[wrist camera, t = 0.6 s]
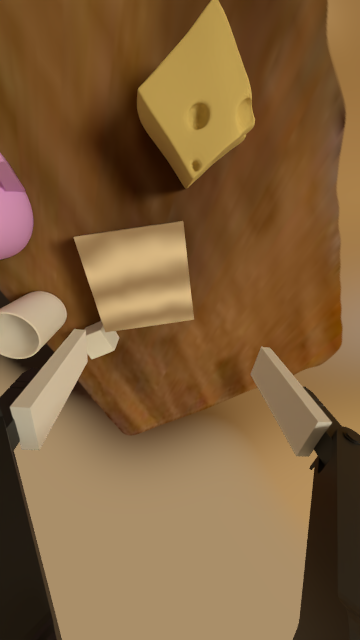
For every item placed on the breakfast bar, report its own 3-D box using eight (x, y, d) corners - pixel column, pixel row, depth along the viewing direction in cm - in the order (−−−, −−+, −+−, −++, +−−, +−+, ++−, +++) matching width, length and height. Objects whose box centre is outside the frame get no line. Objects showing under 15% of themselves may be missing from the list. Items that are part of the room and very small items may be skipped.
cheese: (239, 144, 31) (270, 113, 22) (183, 194, 33) (190, 185, 24) (200, 63, 27) (218, -14, 18) (139, 127, 29) (128, 87, 20)
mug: (33, 343, 43) (-3, 376, 34) (-1, 312, 40) (-51, 340, 31) (77, 316, 41) (52, 343, 32) (45, 281, 38) (7, 301, 29)
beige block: (85, 327, 43) (76, 339, 38) (107, 318, 42) (100, 329, 38) (99, 345, 45) (91, 359, 40) (119, 337, 44) (114, 350, 40)
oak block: (87, 234, 35) (73, 237, 30) (180, 221, 35) (183, 221, 30) (113, 317, 42) (105, 332, 37) (190, 306, 42) (193, 319, 37)
